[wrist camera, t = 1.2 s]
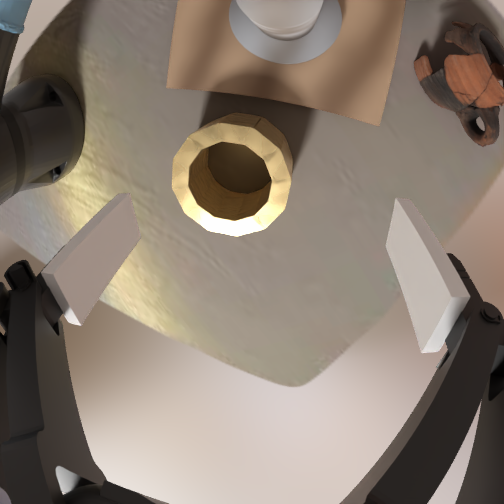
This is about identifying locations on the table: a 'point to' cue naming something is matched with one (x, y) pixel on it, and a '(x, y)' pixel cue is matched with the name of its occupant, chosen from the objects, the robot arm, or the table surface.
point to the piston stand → (290, 51)
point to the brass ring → (219, 198)
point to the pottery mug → (468, 81)
